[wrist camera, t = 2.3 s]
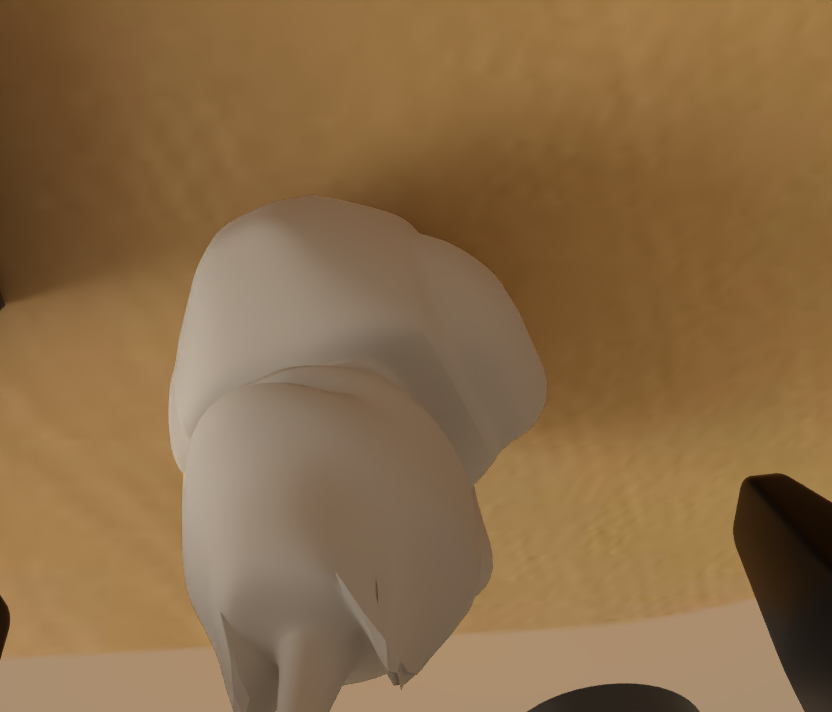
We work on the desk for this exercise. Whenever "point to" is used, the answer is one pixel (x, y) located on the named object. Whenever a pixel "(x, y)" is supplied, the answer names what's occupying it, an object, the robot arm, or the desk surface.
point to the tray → (1, 302)
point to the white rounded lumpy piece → (339, 444)
